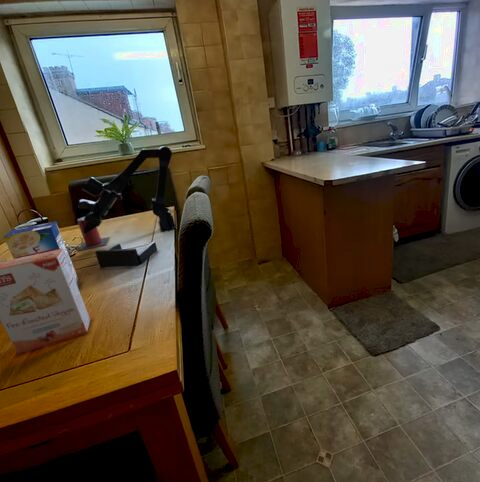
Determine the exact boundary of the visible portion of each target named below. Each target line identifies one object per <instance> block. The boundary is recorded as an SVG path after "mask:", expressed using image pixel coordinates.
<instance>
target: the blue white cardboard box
mask: <svg viewBox="0 0 480 482" xmlns="http://www.w3.org/2000/svg"><path fill="white" fill-rule="evenodd" d="M3 239H4V241H5V243H6V246H7V248H8V250H9V252H10V254H11V257H12V259H16V258H21V257H26V256H31V255H35V254H40V253H45V252H49V251H54V250H59V249H63V251H64V254H65V256H66V259H67V261H68V264H69V266H70V269H71V271H72V274H73V276H74V279H75V281H76V284H77V286H78V287H79V285H80V280H79V277H78V274H77V271H76V269H75V267H74V264H73V261H72V258H71V256H70V253H69V250H68V249H67V246H66V244H65V241H64V239H63V236H62V234H61V231H60V228H59V226H58V223H57V220H56V221H50V222H46V223H45V222H44V223H40V224H36V225H29V226H25V227H20V228H16V229H11V230H10V231H9V232H7V233H6V234H5V235H4V236H3Z"/></svg>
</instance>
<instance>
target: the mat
mask: <svg viewBox="0 0 480 482" xmlns="http://www.w3.org/2000/svg"><path fill="white" fill-rule="evenodd" d="M109 239H110V237H109V236H108V237H103V238H101V240H102V242H101V243H100V244H97V245H94V246H86V244H85V241H83V242H82V244H80V247H79V248H78V250H77V252H81V251H87V250H90V249H96V248H100V247H105V246H107V244H108V241H109Z"/></svg>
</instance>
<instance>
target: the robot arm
mask: <svg viewBox="0 0 480 482" xmlns="http://www.w3.org/2000/svg"><path fill="white" fill-rule="evenodd" d="M172 156H173V152H172V149H170V147H168V146H165V145H164V146H163V145H162V146H160V147H159V148H142V149H141V150H140V151H139V153H138V154H137V155H136V156H135V157H134V158H133V159H132V161H130V163H129V164H128V165H127V166H126V168H124V170H123V171H121V172H120V173H119V174H117V176H115V177H114V178H113V179H112V180H111V181H109V182H105V183H103V182H101V181H99V180H97V179H96V178H95V177H93V176H91V177H90V178H89V179H88V180H87V181H86V182H85V183H84V185H83V187H82V188H81V190H82V191H84V192H86V193H87V194H88V195H91V196H93V197H99V198H98V200H96V201H93V200H90V199H89V200H88V199H83V198H81V199H79V202H78V209H79V210H80V209H83V210H89V212H88V213H87V214H86V215H85V216H84V217H85V218H84V220H86V222H87V223H86V226H85V229H84V232H83V233H85V234H86V233H88V232H89V231H91V230H92V229H94V228H96V227H97V228H98V227H100V226H101V224H102V223H103V220H104V219H105V217H106V216H107V215H108V212H109V211H110V210H111V208H112V206H113V205H114V203H115V202H116V201H117V200H119V201H122V200H123V196H122V193H121V192H123V191H124V189H125V188H126V186H127V184H128V182H129V181H130V179H131V177H132V176H133V175H134V174H135V173H136V171H138V169H139V168H140V167H141V166H142V164H143V163H144V162H145V161H146V160H147V159H158V174H157V187H156V193H155V197H153V198H151V206H150V209H151V210H152V213H153V215H154V216H156V217H157V218H158V220H157V224H158V228H159V230H160V231H161V232H167V231H171V230H175V229H177V226H176V224H175V219H174V216H173V215H172V212H171V208H168V207H167V206H166V198H165V195H166V186H167V177H168V168H169V165H170V162H171V159H172Z"/></svg>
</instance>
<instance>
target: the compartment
mask: <svg viewBox="0 0 480 482" xmlns="http://www.w3.org/2000/svg"><path fill="white" fill-rule="evenodd" d="M157 251H158V246H157V243H156V241H152V242H151V243H149V244H148V245H147V246H146V247H144V248H143V249H142V250H137V248H122V246H121V243H117V244H116V243H115V245H114V246H112V247H111V248H109V249H99V250H98V249H97V250H95V251H94V252H95V253H94V254H95V256H96V259H97V262H98V265H99V267H100V268H120V267H121V268H122V267H139V266H141V265H144V263H146V262H147V260H149V259H150V258H151V257H152V256H153V255H154V254H155V253H156V252H157Z"/></svg>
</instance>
